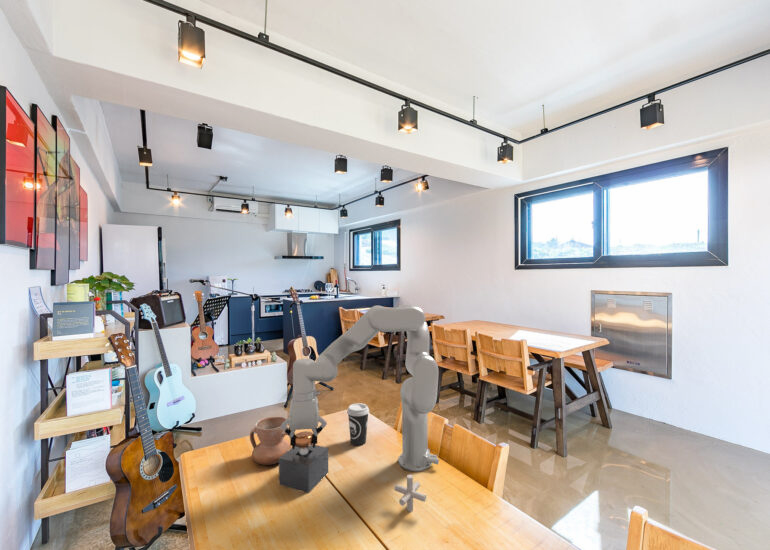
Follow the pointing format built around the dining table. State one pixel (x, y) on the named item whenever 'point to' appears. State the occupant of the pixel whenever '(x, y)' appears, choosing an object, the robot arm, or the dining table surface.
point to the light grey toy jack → (409, 493)
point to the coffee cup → (358, 423)
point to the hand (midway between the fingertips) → (303, 446)
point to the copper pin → (304, 442)
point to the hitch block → (303, 468)
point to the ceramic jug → (269, 440)
